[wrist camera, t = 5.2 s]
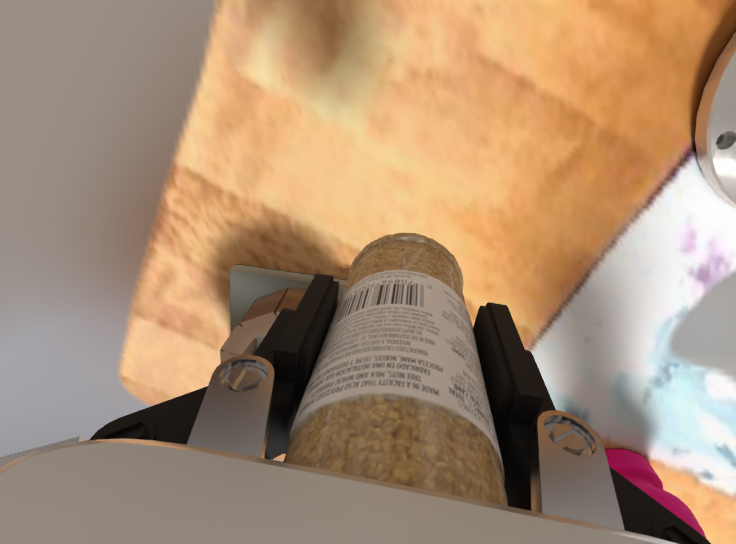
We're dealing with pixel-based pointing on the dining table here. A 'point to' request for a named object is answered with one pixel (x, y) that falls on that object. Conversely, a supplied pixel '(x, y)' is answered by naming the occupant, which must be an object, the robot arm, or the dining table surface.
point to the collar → (261, 304)
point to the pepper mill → (649, 483)
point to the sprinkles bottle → (402, 379)
